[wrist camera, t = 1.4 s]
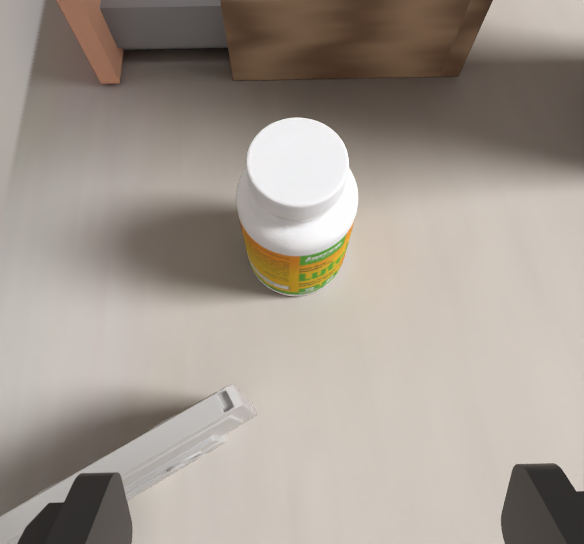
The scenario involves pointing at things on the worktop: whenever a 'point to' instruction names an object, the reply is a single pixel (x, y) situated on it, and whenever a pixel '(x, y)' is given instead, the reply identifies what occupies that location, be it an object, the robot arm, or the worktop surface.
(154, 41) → the drawer
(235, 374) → the worktop surface
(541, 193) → the worktop surface
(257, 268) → the supplement bottle
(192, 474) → the worktop surface
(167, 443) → the cassette
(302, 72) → the caddy
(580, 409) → the worktop surface
